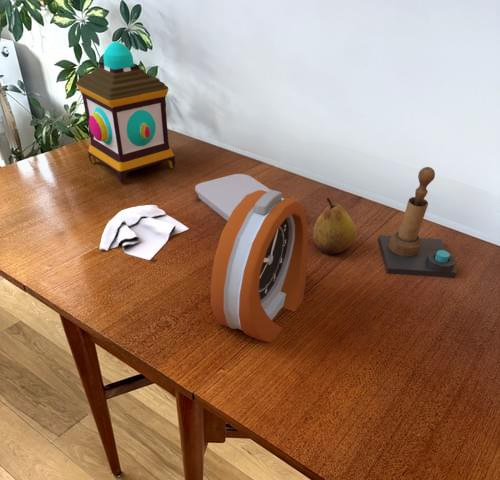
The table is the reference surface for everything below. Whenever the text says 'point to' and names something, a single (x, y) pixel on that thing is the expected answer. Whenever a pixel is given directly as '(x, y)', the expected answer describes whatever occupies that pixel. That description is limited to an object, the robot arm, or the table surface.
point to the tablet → (227, 192)
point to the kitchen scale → (417, 260)
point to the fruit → (333, 230)
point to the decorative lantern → (125, 114)
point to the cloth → (140, 231)
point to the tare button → (442, 256)
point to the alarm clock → (260, 264)
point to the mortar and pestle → (412, 219)
